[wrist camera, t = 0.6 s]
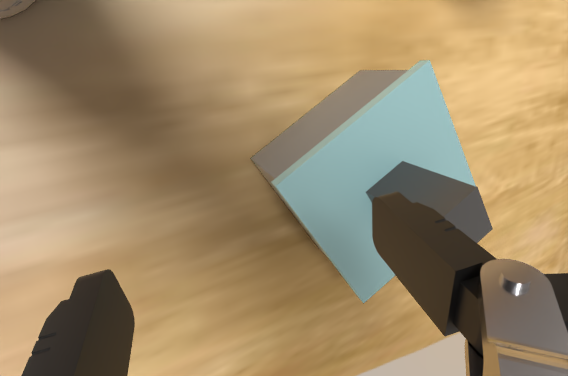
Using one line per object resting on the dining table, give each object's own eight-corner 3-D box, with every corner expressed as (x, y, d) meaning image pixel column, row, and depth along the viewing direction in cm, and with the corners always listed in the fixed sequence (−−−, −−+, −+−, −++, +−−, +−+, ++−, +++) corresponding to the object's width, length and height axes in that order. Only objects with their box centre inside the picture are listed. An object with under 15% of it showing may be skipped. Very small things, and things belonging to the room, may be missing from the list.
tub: (250, 158, 32) (279, 182, 25) (360, 70, 33) (417, 70, 26) (320, 250, 38) (359, 290, 31) (409, 173, 40) (466, 195, 33)
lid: (267, 179, 25) (320, 226, 18) (412, 60, 27) (521, 56, 19) (353, 292, 32) (418, 361, 25) (464, 193, 34) (559, 229, 26)
